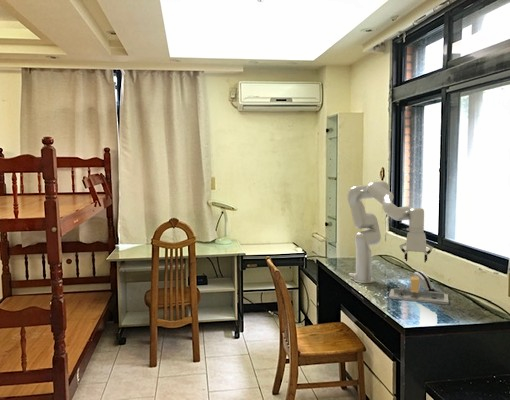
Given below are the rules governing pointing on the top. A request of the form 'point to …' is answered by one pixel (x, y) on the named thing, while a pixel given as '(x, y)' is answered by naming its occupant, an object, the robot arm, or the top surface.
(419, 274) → the grey curved piece
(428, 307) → the top surface
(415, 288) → the block
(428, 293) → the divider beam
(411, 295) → the hole plate
